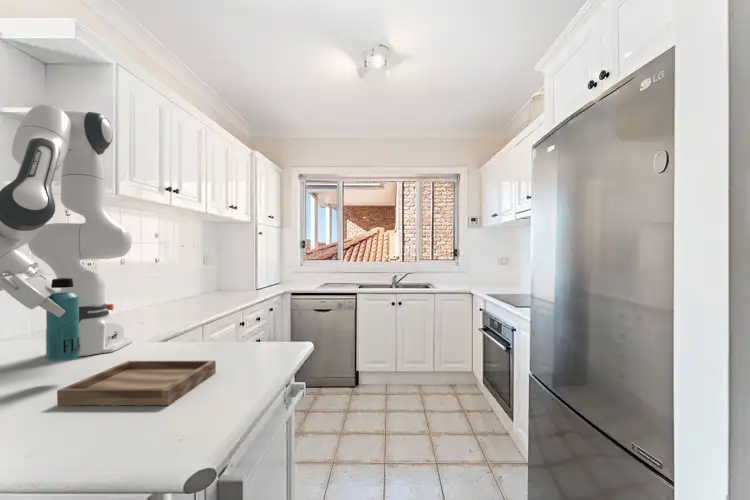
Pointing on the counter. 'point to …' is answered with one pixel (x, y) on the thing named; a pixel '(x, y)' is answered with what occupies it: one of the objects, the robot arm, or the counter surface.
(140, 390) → the walnut tray
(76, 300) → the beverage bottle
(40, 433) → the counter surface
